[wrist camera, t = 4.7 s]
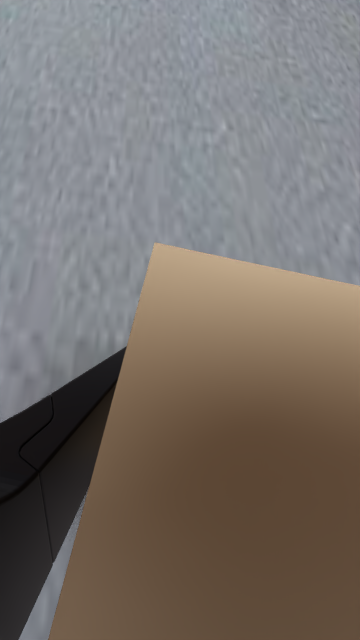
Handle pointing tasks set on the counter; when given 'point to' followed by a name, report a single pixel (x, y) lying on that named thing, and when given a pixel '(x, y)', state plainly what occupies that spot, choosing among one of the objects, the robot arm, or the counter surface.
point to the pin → (226, 463)
